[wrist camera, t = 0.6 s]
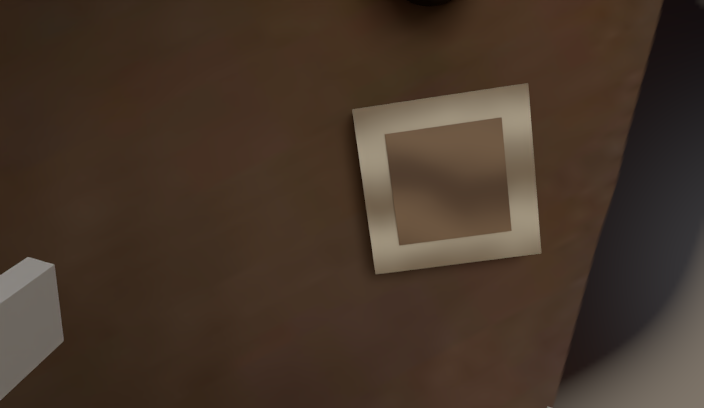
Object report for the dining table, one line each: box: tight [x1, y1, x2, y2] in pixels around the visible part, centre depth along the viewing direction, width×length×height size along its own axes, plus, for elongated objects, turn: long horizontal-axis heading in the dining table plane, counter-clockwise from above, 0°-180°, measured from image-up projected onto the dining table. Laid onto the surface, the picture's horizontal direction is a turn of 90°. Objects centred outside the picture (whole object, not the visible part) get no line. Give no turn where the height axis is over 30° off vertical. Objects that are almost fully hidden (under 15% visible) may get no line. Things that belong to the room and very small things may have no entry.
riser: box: [352, 83, 541, 274], centre depth 34 cm, size 12×12×4 cm
